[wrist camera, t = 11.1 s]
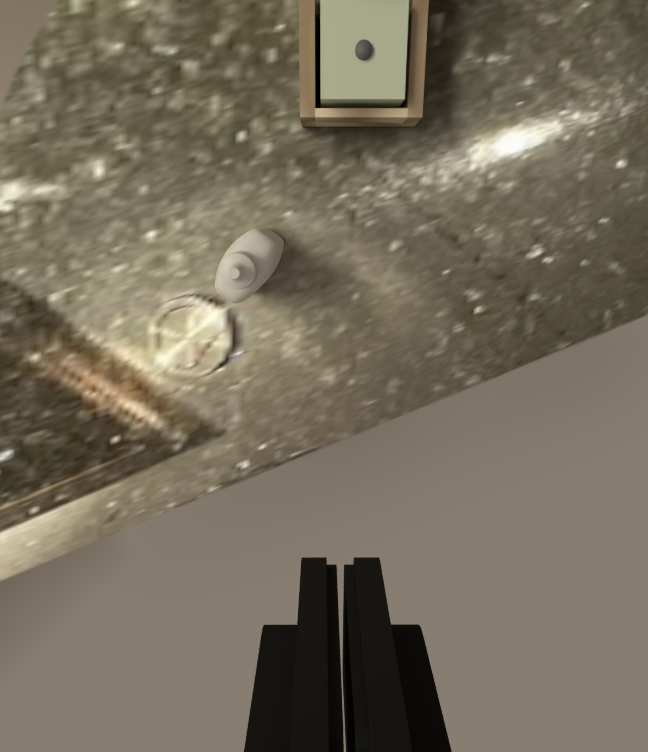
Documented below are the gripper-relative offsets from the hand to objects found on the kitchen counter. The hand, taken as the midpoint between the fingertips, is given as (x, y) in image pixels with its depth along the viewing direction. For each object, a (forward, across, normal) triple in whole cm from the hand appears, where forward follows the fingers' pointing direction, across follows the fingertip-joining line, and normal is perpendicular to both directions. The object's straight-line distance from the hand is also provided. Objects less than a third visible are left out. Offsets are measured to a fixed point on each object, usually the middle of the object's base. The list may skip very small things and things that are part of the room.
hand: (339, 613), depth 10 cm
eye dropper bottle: (+35, +6, -5) cm, 36 cm away
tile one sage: (+34, -3, -19) cm, 40 cm away
